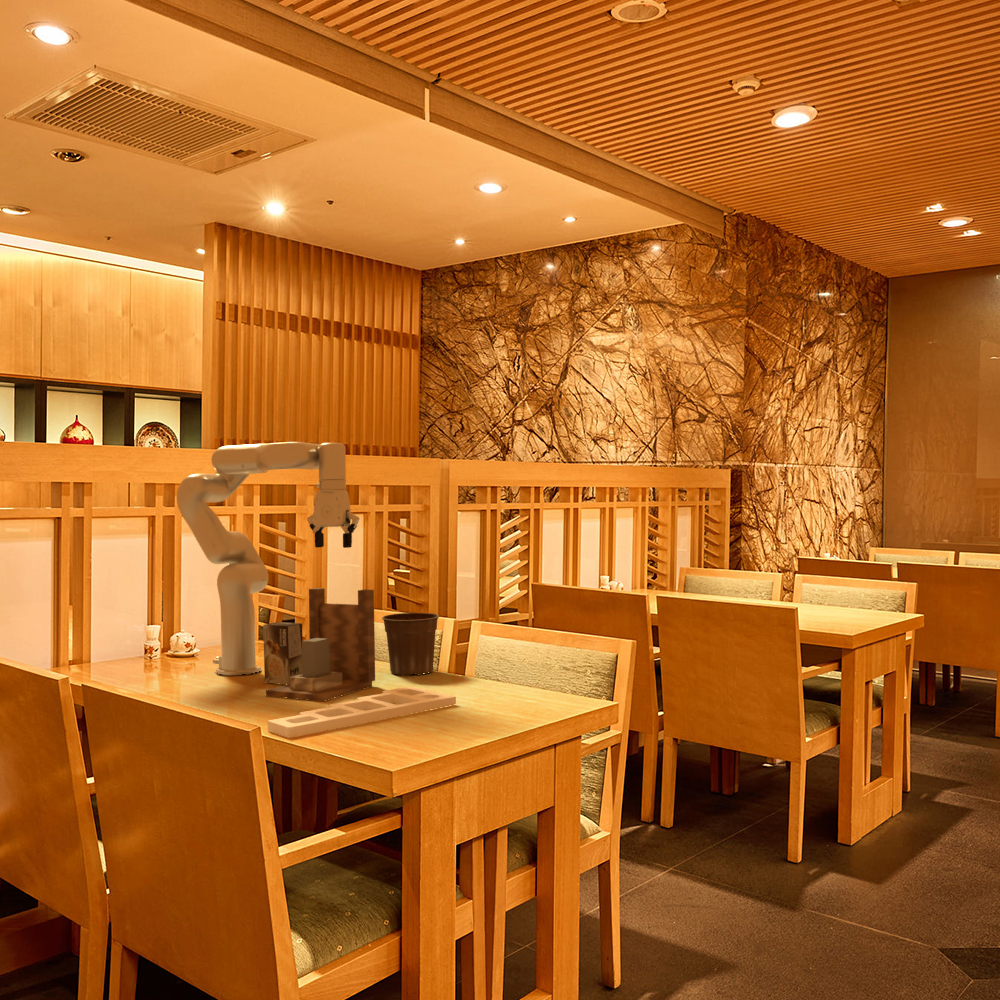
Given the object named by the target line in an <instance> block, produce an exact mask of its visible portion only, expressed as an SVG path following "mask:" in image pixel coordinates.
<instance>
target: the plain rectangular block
mask: <svg viewBox="0 0 1000 1000" xmlns="http://www.w3.org/2000/svg"><path fill="white" fill-rule="evenodd" d="M325 675H329V639H326V638H314V639H310V638H308V639H305V640H304V639H303V641H302V677H310V678H318V677H322V676H325Z"/></svg>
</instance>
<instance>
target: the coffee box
mask: <svg viewBox="0 0 1000 1000" xmlns="http://www.w3.org/2000/svg"><path fill="white" fill-rule="evenodd" d="M262 628H263V630H262V632H263V663H264V664H263V667H264V668H263V669H264V670H263V671H264V683H265V682H266V683H265V684H269V683H280V684H279V685H282V684H290V677H292V676H296V675H300V674H302V641H304V639H303V623H301V622H300V623H299V622H286V621H285V622H284V621H283V622H282V621H279V622H278V621H276V622H270V623H267V624H266V623H265V624H263V626H262Z"/></svg>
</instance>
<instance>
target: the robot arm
mask: <svg viewBox="0 0 1000 1000" xmlns="http://www.w3.org/2000/svg"><path fill="white" fill-rule="evenodd" d="M346 461H347V459H346V445H345V444H343V442H342V443H341V442H323V443H321V444H319V443H313V442H311V443H310V442H305V441H287V442H286V441H285V442H271V443H254V444H237V445H236V444H234V445H224V446H221V447H218V448H217V449H215V451H213V453H212V455H211V461H210V462H211V465H212V468H214V470H215V471H216V472H215V473H194V474H193V473H192V474H190V475H188V476H186V477H184V478H183V479H182V481H181V482H180V484H179V486H178V487H177V491H176V504H177V508H178V511H179V513H180V515H181V517H182V518H183V519H184V521H185V523H186V524H187V525H188V527H189V528H190V531H191V533H192V534H193V536H194V538H195V540H196V541H197V543H198V545H199V548H200V549H201V550H202V551H203V554H204V555H205V557H206V558H207V560H208V561H209V562H210V563H211V564H214V565H226V564H227V565H226V566H224V567H223V568H222V569H221V570H220V571H219V573H218V575H217V578H216V587H217V591H218V595H219V596H218V598H219V602H220V603H219V604H220V605H219V607H220V629H221V630H220V635H221V636H220V638H221V639H220V641H221V643H220V644H221V646H220V647H221V649H220V650H221V656H216V657H215V658H214V659H213V660H212V663H213V664H215V665H218V668H216V669H215V670H216V671H215V673H216V674H217V673H218V674H217V675H219V674H225V675H224V676H243V675H242V674H246V675H252V674H251V673H253V674H256V673H255V672H257V673H259V671H260V672H261V671H262V667H261V666H260V665H258V664H256V663H257V662H256V618H255V617H256V613H255V605H254V601H253V598H252V594H256V593H259V592H262V591H264V589H265V588H266V587H267V585H268V583H269V572H268V568H267V567H266V566H265V564H264V561H263V560H262V558H261V557H260V555H259V553H258V552H257V550H256V548H255V547H254V545H253V542H251V539H250V538H248V537H247V536H246V534H244V533H242V532H240V531H235V530H232V531H231V530H230V531H229V530H227V529H226V527H225V526H224V525H223V523H222V521H221V520H220V518H219V516H218V515H217V513H216V512H215V511H214V510H213V509H212V508H211V507H210V506H209V505H208V503H221V502H224V501H225V500H227V499H229V498H230V497H231V495H233V494H234V493H235V491H237V489H238V488H239V487H240V486H241V485H242V484H243V483H244V481H245V480H247V478H248V477H249V476H250V475H252V474H253V475H254V474H255V475H256V474H266V473H267V472H269V471H272V470H291V469H292V470H295V469H296V470H309V471H310V470H318V482H316V486H315V487H316V488H318V491H316V493H315V498H314V505H313V514H311V515H309V516H308V517H307V518H306V520H307V523H308V524H309V528H310V529H311V531H312V533H313V534H314V547H315V548H324V546H325V543H324V541H325V539H324V538H325V537H324V535H325V534H324V533H323V531H324V529H325V528H326V527H329V528H331V527H334V528H335V527H336V528H338V527H340V528H341V529H342V530H343V532H344V533H343V534H342V547H343V549H344V548H345V549H349V548H352V544H353V534H354V533H355V532H354V531H355V530H356V529H357V527H358V523H359V522H360V517H359V516H358V515H356V514H355V513H353V512H351V501H350V496H349V492H348V491H347V474H346V473H347V468H346V467H347V465H346V463H347V462H346Z"/></svg>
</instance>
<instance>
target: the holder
mask: <svg viewBox="0 0 1000 1000" xmlns="http://www.w3.org/2000/svg"><path fill="white" fill-rule="evenodd" d="M395 703H397V704H395ZM454 704H456V705H457V696H456V695H452V694H448V693H444V692H438V691H433V690H429V689H424V688H421V687H420V688H419V687H415V686H404V687H401V688H394V689H389V690H382V693H379V694H377V693H376V694H372V695H366V696H359V697H356V699H355V700H350V701H345V702H343V701H342V702H339V703H333V704H329V705H328V707H324V708H318V709H313V710H311V709H310V710H306V711H301V712H299V714H296V715H292V716H286V717H281V718H276V719H275V718H274V719H269V720H267V732H269V733H272V734H274V733H275V735H277V734H278V735H277V736H280V735H281V737H283V736H284V737H283V738H286V737H287V739H290V738H297V737H303V736H307V735H311V734H312V735H313V734H317V733H318V734H319V733H321V732H327V730H328V731H332V729H333V730H337V729H336V728H338V729H342V728H341V727H344V728H347V727H346V726H349V727H352V726H351V725H354V726H359V725H365V724H367V723H368V722H369V723H373V722H372V721H374V722H378V720H379V721H383V719H384V720H388V719H387V718H390V719H393V718H392V717H395V718H398V717H397V716H400V717H403V716H402V715H405V716H408V715H407V714H410V715H412V714H411V713H415V714H417V713H416V712H420V713H422V712H421V711H425V710H430V709H435V708H440V707H445V706H449V705H454ZM363 710H365V711H363ZM425 712H426V711H425ZM369 723H368V724H369ZM358 724H359V725H358Z"/></svg>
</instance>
